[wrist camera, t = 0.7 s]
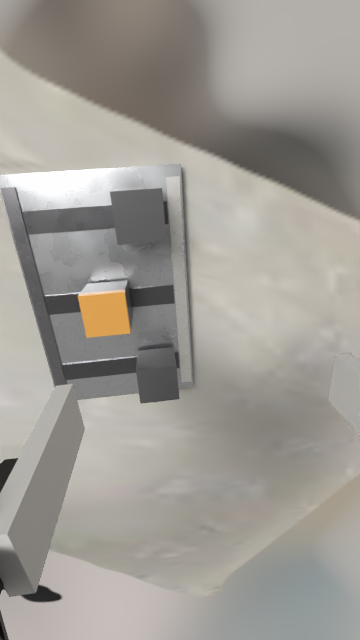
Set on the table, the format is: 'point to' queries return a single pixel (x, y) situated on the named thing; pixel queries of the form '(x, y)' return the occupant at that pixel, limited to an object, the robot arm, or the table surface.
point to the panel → (100, 272)
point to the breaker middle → (106, 308)
